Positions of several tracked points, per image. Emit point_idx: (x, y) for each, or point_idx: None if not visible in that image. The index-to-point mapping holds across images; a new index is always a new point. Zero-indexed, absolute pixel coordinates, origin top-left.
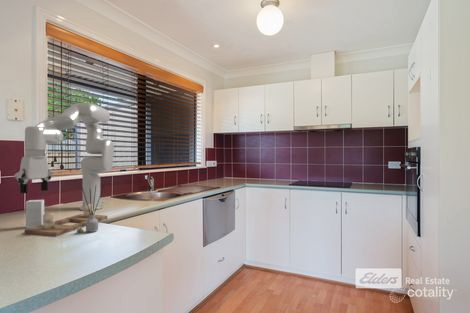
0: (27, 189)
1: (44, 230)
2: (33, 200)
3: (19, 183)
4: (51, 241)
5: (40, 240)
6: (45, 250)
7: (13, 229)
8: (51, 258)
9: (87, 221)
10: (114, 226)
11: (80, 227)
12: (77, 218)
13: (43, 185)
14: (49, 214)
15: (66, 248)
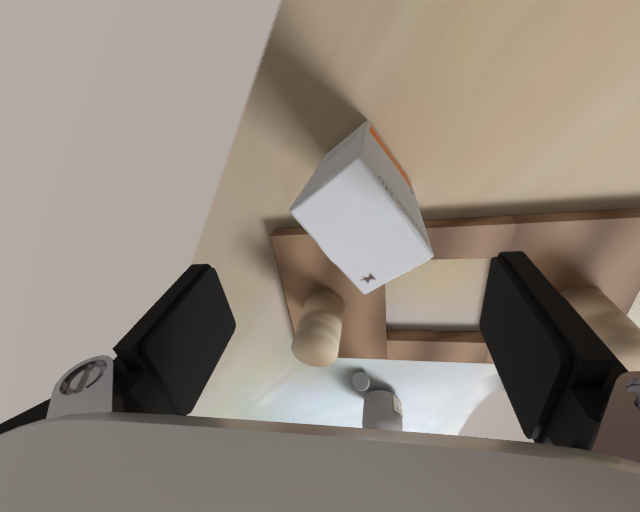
0: (219, 356)
1: (300, 310)
2: (360, 215)
3: (85, 376)
4: (268, 363)
5: (258, 335)
6: (226, 388)
7: (288, 104)
8: (213, 417)
9: (365, 428)
10: (454, 418)
11: (362, 390)
12: None
13: (516, 347)
14: (315, 352)
15: (256, 411)
